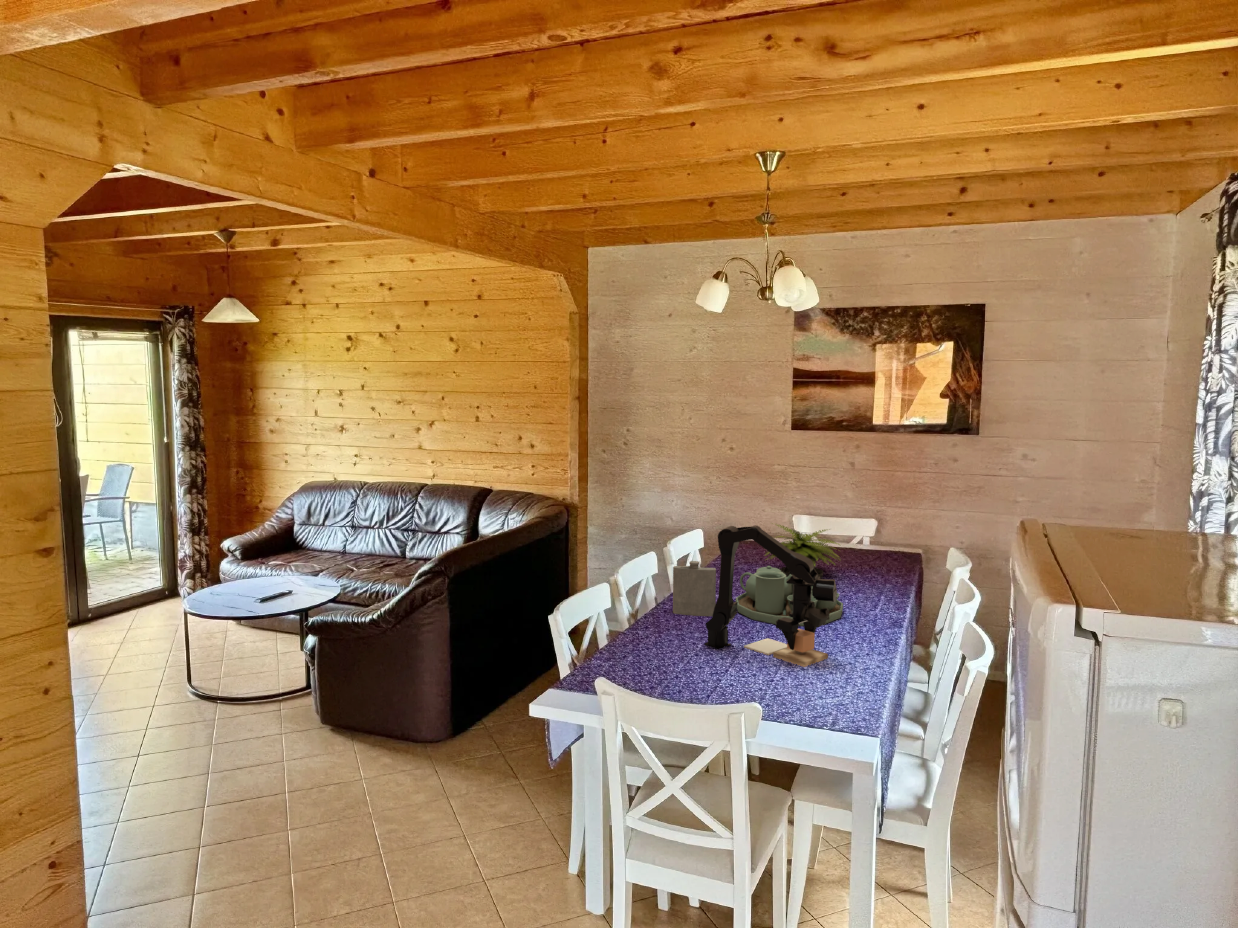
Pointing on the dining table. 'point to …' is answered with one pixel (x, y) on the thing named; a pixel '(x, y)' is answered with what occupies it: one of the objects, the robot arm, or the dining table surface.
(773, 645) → the pad
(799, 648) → the orange cube
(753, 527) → the robot arm
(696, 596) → the hip flask
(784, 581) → the tea set
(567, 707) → the dining table surface
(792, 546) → the fern plant
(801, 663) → the post stand
